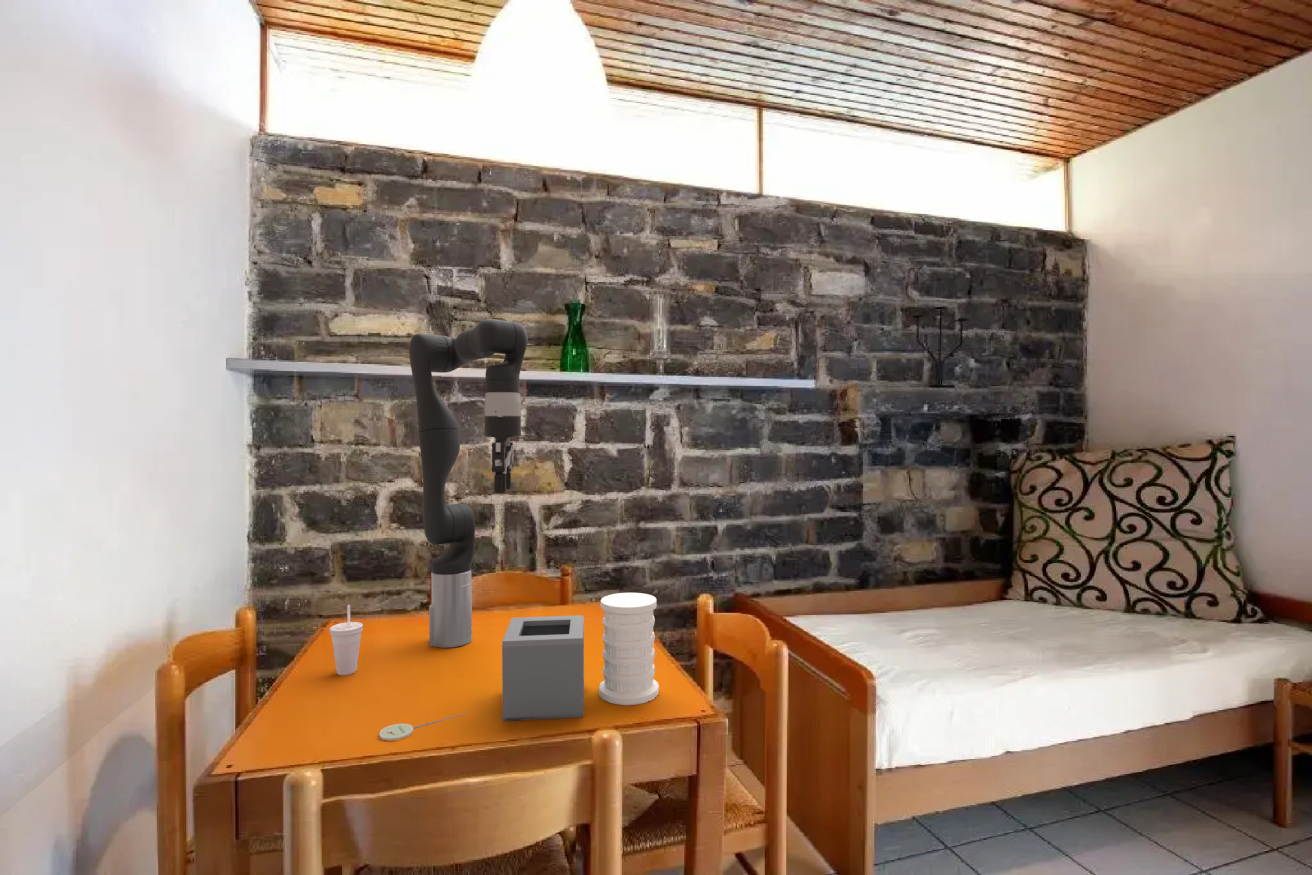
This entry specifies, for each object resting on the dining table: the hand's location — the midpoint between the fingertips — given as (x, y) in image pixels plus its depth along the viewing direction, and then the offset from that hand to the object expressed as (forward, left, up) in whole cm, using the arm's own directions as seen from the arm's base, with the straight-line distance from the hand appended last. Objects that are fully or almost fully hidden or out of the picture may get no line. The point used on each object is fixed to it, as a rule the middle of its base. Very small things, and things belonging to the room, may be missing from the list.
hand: (503, 491), depth 132 cm
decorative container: (+26, -14, -38) cm, 48 cm away
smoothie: (-33, +3, -38) cm, 51 cm away
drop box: (+10, -17, -38) cm, 43 cm away
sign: (-10, -24, -39) cm, 47 cm away
